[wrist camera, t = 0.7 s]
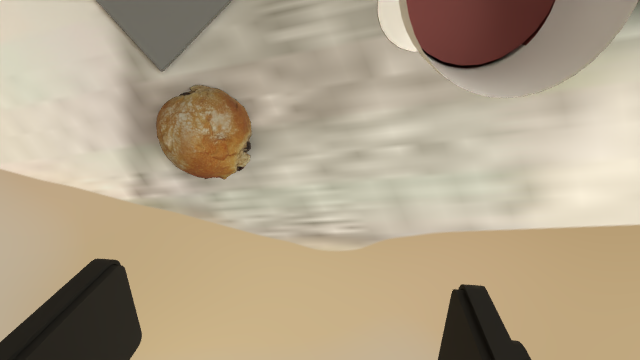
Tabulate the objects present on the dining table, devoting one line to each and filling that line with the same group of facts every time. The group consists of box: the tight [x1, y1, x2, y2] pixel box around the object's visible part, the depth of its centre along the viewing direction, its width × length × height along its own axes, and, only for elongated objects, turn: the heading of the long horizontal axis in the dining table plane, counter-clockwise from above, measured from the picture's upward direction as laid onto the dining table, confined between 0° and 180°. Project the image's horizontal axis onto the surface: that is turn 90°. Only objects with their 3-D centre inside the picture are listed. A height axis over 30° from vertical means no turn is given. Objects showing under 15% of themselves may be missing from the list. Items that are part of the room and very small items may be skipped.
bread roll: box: [156, 85, 251, 179], centre depth 38 cm, size 10×10×8 cm
